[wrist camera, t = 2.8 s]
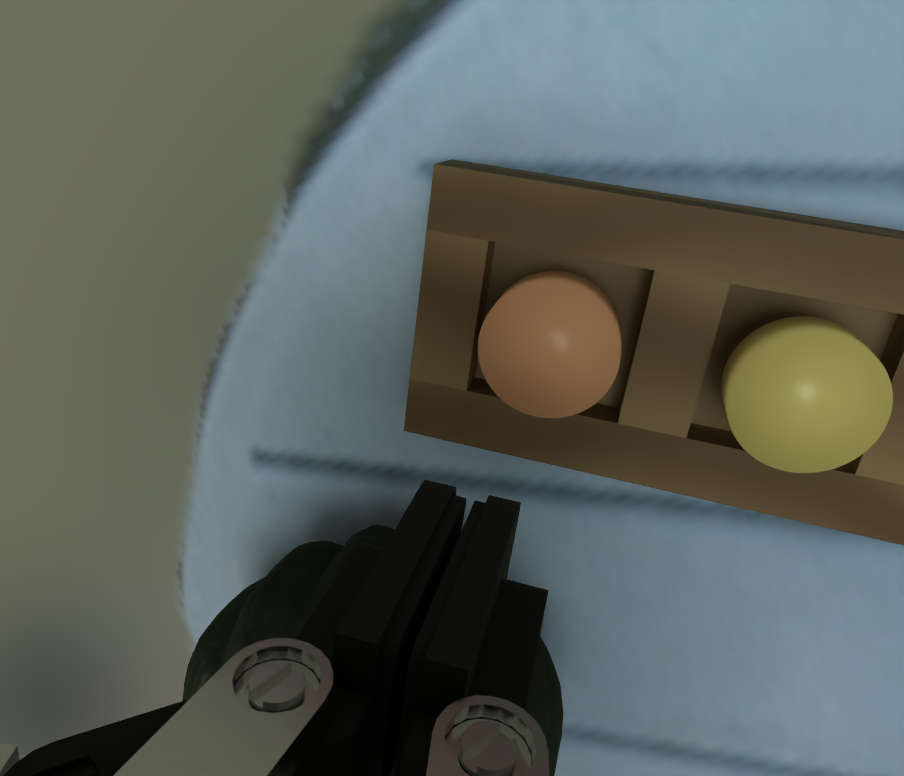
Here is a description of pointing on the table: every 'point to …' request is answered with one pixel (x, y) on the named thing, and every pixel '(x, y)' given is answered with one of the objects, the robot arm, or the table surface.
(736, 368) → the mustard button
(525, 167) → the table surface
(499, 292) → the button panel
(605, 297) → the terracotta button
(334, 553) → the squash
